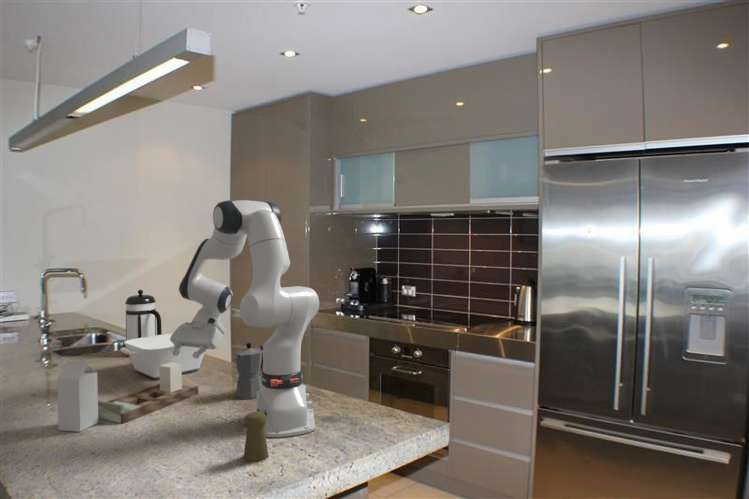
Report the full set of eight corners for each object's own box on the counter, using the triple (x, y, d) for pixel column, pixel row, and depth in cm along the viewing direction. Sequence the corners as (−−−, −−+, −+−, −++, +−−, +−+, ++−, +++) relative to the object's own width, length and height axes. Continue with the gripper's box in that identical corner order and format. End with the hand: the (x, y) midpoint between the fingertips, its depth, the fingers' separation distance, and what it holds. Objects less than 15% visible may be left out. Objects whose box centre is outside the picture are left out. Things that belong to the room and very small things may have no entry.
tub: (138, 388, 183) (137, 352, 183) (110, 374, 201) (109, 342, 201) (222, 369, 208) (222, 338, 208) (190, 358, 226) (190, 330, 226)
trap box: (166, 388, 182) (166, 374, 182) (198, 393, 176) (198, 379, 175) (88, 416, 155) (88, 399, 154) (123, 423, 148) (122, 406, 148)
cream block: (171, 386, 177) (170, 362, 177) (182, 388, 175) (181, 363, 175) (159, 390, 173) (159, 365, 173) (170, 392, 171) (170, 367, 171)
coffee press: (119, 360, 224) (118, 292, 223) (127, 352, 240) (126, 288, 239) (161, 357, 229) (160, 290, 228) (167, 349, 244) (165, 287, 243)
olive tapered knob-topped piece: (270, 451, 128) (269, 408, 128) (266, 462, 122) (265, 417, 122) (246, 452, 128) (245, 409, 128) (240, 463, 122) (240, 417, 122)
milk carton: (80, 432, 142) (78, 364, 141) (58, 430, 143) (56, 363, 143) (98, 423, 149) (97, 358, 148) (77, 421, 150) (76, 357, 150)
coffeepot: (248, 403, 166) (248, 348, 165) (225, 399, 169) (224, 345, 169) (275, 389, 180) (275, 339, 179) (253, 386, 184) (253, 337, 183)
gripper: (178, 317, 191) (158, 348, 182) (221, 320, 182) (201, 354, 173) (187, 326, 195) (168, 358, 186) (229, 331, 186) (211, 363, 178)
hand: (184, 356), depth 180 cm, fingers open, 8 cm apart
